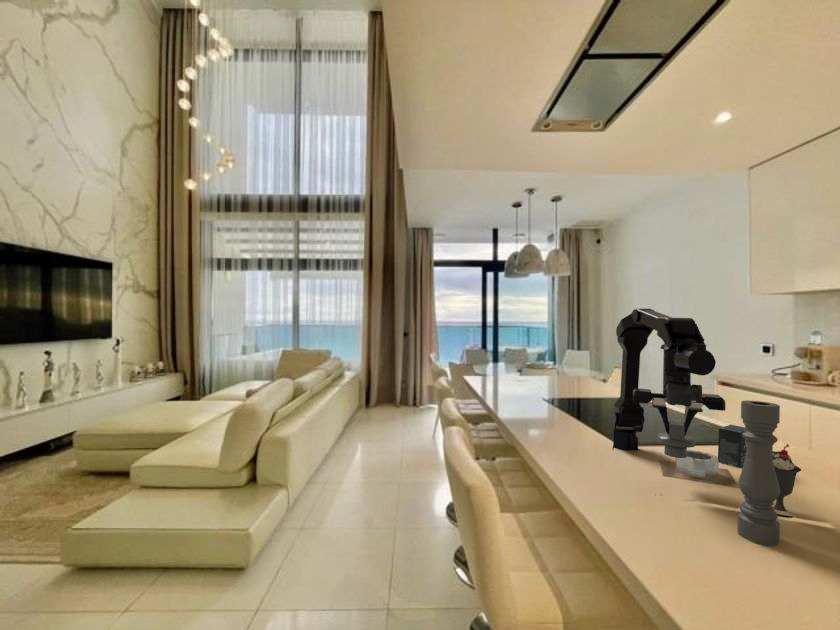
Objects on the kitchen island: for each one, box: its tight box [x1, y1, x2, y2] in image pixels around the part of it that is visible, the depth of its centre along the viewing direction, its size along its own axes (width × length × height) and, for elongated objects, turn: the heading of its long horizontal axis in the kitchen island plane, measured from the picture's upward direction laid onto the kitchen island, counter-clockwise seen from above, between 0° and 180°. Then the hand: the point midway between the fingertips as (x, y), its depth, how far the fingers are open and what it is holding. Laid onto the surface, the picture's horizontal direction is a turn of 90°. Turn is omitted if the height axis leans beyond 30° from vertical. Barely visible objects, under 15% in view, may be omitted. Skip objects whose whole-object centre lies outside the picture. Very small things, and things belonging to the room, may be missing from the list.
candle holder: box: [737, 400, 781, 547], centre depth 81 cm, size 6×6×25 cm
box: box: [717, 424, 747, 469], centre depth 121 cm, size 8×6×11 cm
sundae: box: [772, 443, 802, 519], centre depth 91 cm, size 7×7×15 cm
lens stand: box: [659, 459, 740, 489], centre depth 112 cm, size 16×14×1 cm
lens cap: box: [656, 418, 696, 458], centre depth 103 cm, size 8×8×8 cm
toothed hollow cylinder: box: [674, 449, 720, 479], centre depth 112 cm, size 9×9×4 cm
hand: (675, 434), depth 103 cm, fingers closed on lens cap, 3 cm apart
